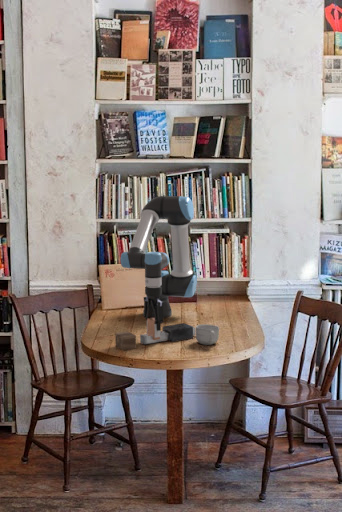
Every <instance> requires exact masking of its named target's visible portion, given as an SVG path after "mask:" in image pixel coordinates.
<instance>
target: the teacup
mask: <svg viewBox="0 0 342 512" xmlns="http://www.w3.org/2000/svg"><path fill="white" fill-rule="evenodd" d="M219 334H220V327H219V326H218V325H214V324H204V323H203V324H202V323H201V324H198V325H196V326H195V340H196V341H197V342H198V343H199V344H200V345H204V346H210V345H211V346H213V345H214V344H216V342H218V341H219V336H220V335H219Z"/></svg>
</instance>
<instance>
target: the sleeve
mask: <svg viewBox="0 0 342 512" xmlns="http://www.w3.org/2000/svg"><path fill="white" fill-rule="evenodd" d="M193 327H194V326H192V325H191V324H190V325H189V324H188V323H184V322H183V323H177V324H175V323H174V324H169V325H165V326H162V329H161V330H162V331H166V330H167V331H169V332H170V340H169V342H170V343H174V342H179V341H185V340H190V339H193V338H194V336H193Z"/></svg>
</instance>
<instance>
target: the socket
mask: <svg viewBox="0 0 342 512" xmlns="http://www.w3.org/2000/svg"><path fill="white" fill-rule="evenodd" d="M114 334H115V335H114V337H115V340H114V341H115V347H116V348H118V349H120V350H122V351H123V352H124V351H129V350H130V351H131V350H135V349H137V336H136V334H134V333H132V332H130V331H126V330H125V331H121V332H120V331H119V332H115V333H114Z"/></svg>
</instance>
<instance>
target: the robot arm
mask: <svg viewBox="0 0 342 512" xmlns="http://www.w3.org/2000/svg"><path fill="white" fill-rule="evenodd" d="M194 213H195V209H194V204H193V201H192V199H191V198H190V197H188V196H181V195H180V196H177V195H174V196H173V195H165V196H164V195H159V196H156V197H153V198H152V199H151V200H149V201H147V203H146V204H145V205H144V206H143V208H142V209H141V212H140V215H139V217H140V220H139V223H138V225H137V228H136V230H135V234H134V236H133V239H132V241H131V243H130V247H129V249H128V251H124V252H122V253H121V255H120V258H119V259H120V265H121V267H122V268H126V269H139V270H140V269H141V270H142V269H143V270H144V278H145V279H144V285H145V287H144V294H145V296H144V297H143V313H142V315H143V318H144V319H145V320H146V321H147V318H155V322H156V323H154V326H155V338H157V337H160V331H161V330H162V329H161V324H163V323H164V318H168V317H171V316H172V312H173V311H172V307H171V304H170V302H169V297H174V298H175V297H176V298H177V297H179V298H193V296H194V294H196V289H197V285H198V284H197V283H198V277H197V275H195V274H194V271H193V270H192V268H190V267H191V266H190V250H189V249H190V244H189V225H190V223H191V221H192V220H193V219H194ZM159 220H166V221H167V225H169V226H170V233H171V234H170V235H171V237H170V238H171V251H172V267H173V268H172V270H171V271H170V273H169V271H168V270H164V269H166V267H168V265H169V263H170V257H169V256H168V254H167V253H166V252H162V251H160V252H159V251H148V252H146V250H147V247H148V244H149V241H150V239H151V237H152V234H153V232H154V231H153V230H154V228H155V225H156V224H157V223H158V222H159ZM146 334H148V331H147V330H146Z"/></svg>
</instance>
